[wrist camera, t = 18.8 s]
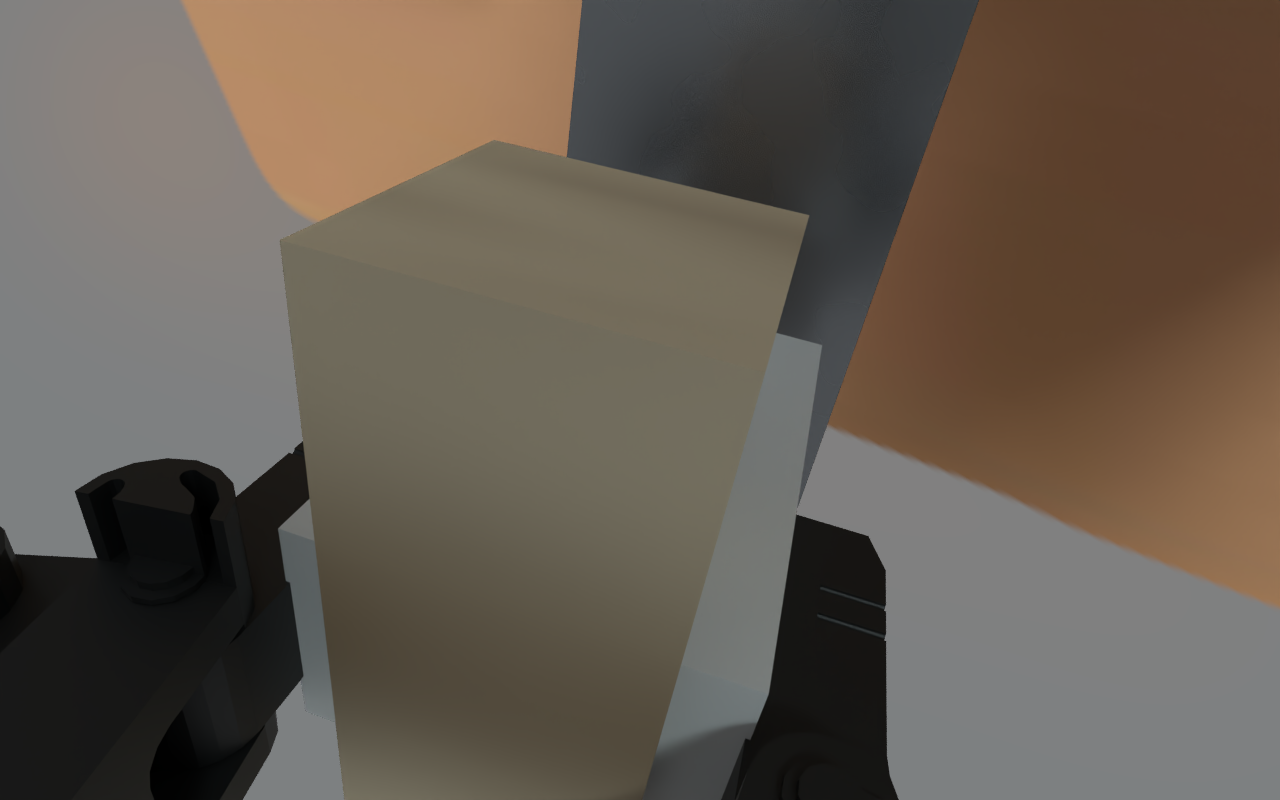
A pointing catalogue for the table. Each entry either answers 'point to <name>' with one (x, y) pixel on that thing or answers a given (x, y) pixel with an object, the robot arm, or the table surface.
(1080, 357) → the table surface
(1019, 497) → the table surface
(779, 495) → the robot arm
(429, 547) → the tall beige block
